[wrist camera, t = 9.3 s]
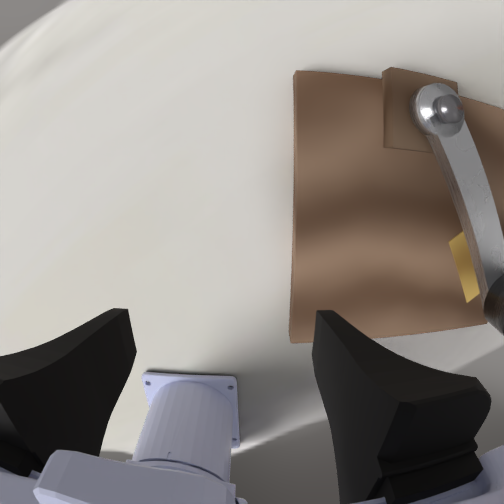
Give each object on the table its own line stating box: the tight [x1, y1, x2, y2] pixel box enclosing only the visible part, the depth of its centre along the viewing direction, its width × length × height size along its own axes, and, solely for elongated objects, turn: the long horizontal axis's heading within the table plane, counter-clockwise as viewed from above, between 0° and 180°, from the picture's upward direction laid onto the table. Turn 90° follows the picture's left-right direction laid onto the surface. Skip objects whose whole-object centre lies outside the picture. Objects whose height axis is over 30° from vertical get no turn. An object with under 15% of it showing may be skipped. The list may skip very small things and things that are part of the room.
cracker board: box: [289, 67, 504, 343], centre depth 19 cm, size 18×18×3 cm
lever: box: [409, 83, 504, 335], centre depth 15 cm, size 18×4×6 cm, turn 32°
